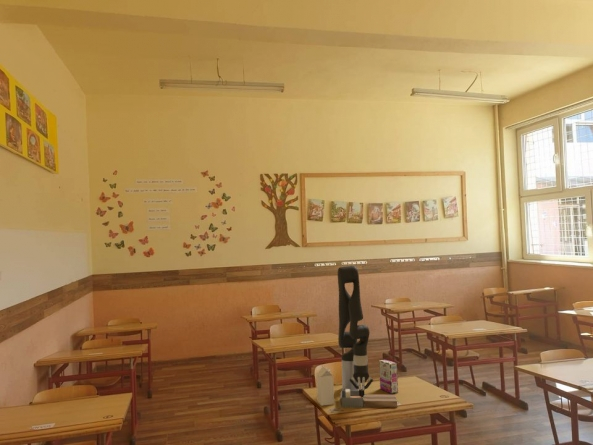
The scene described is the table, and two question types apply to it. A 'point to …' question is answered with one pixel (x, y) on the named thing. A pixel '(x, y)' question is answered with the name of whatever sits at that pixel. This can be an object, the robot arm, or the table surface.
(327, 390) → the milk carton
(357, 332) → the robot arm
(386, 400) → the grey brown tray
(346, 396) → the tile cream
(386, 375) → the candy bar box
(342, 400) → the tray
